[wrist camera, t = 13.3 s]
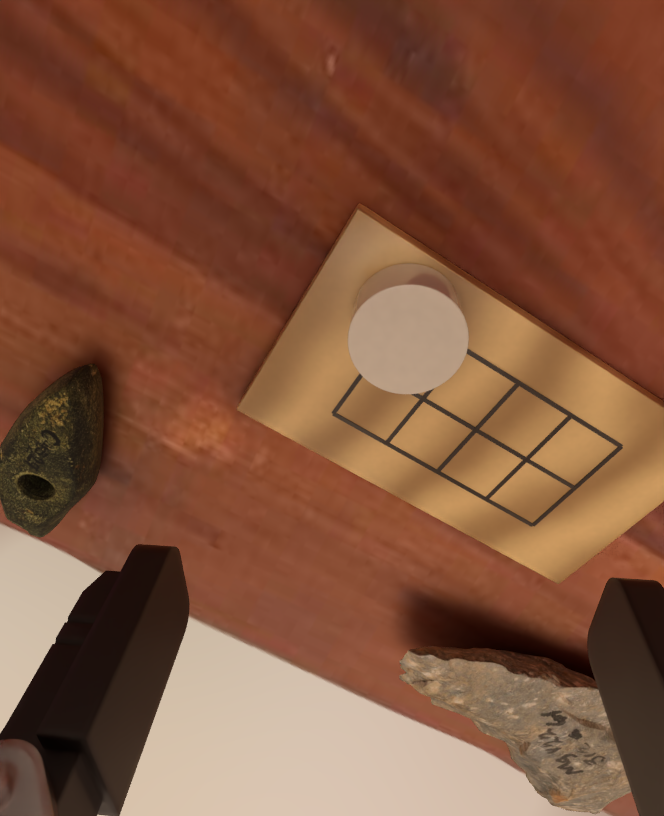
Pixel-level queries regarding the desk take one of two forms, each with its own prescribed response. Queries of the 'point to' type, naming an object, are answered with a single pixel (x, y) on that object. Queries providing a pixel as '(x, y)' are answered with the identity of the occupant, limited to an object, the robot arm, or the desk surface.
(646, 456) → the game board
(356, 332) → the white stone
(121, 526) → the desk surface
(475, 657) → the stone tool
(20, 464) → the decorative stone
